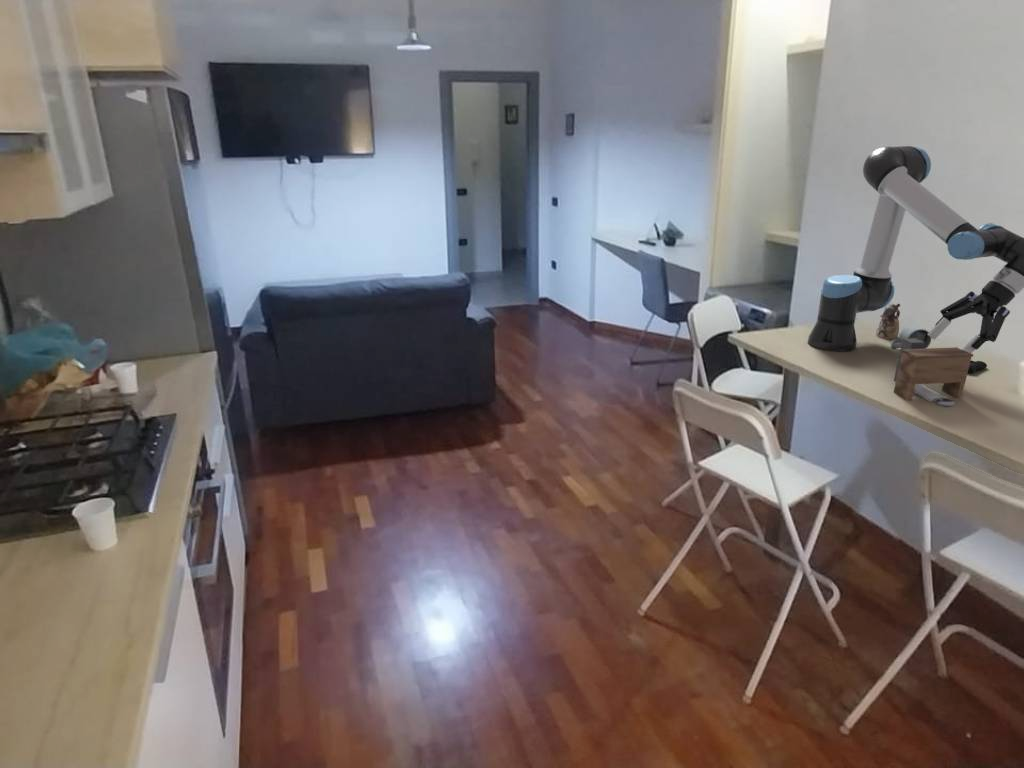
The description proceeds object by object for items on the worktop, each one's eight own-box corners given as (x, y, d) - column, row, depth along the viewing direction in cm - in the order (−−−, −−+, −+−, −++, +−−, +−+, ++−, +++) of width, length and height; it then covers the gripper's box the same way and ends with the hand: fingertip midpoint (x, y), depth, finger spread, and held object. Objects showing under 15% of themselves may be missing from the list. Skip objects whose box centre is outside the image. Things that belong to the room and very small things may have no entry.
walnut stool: (892, 391, 191) (901, 349, 186) (945, 389, 193) (956, 347, 188) (907, 400, 185) (917, 356, 180) (962, 397, 187) (973, 354, 182)
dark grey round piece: (931, 401, 185) (932, 397, 184) (948, 402, 184) (949, 398, 184) (938, 407, 181) (940, 403, 180) (956, 408, 180) (957, 404, 180)
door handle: (928, 344, 227) (904, 349, 218) (995, 360, 212) (972, 366, 203) (926, 353, 228) (902, 359, 219) (992, 370, 213) (969, 376, 204)
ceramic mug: (917, 344, 234) (922, 323, 231) (929, 351, 226) (933, 329, 223) (885, 344, 235) (889, 323, 232) (896, 351, 227) (900, 329, 224)
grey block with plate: (892, 381, 199) (901, 338, 195) (907, 380, 200) (917, 338, 195) (929, 401, 184) (940, 355, 180) (946, 400, 185) (957, 355, 180)
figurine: (871, 333, 247) (878, 301, 243) (891, 333, 247) (897, 301, 243) (881, 338, 240) (888, 306, 236) (901, 339, 240) (908, 306, 236)
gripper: (965, 266, 199) (911, 324, 206) (1030, 295, 177) (968, 358, 184) (980, 279, 202) (926, 335, 209) (1047, 309, 180) (984, 370, 187)
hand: (945, 346), depth 197 cm, fingers open, 13 cm apart
